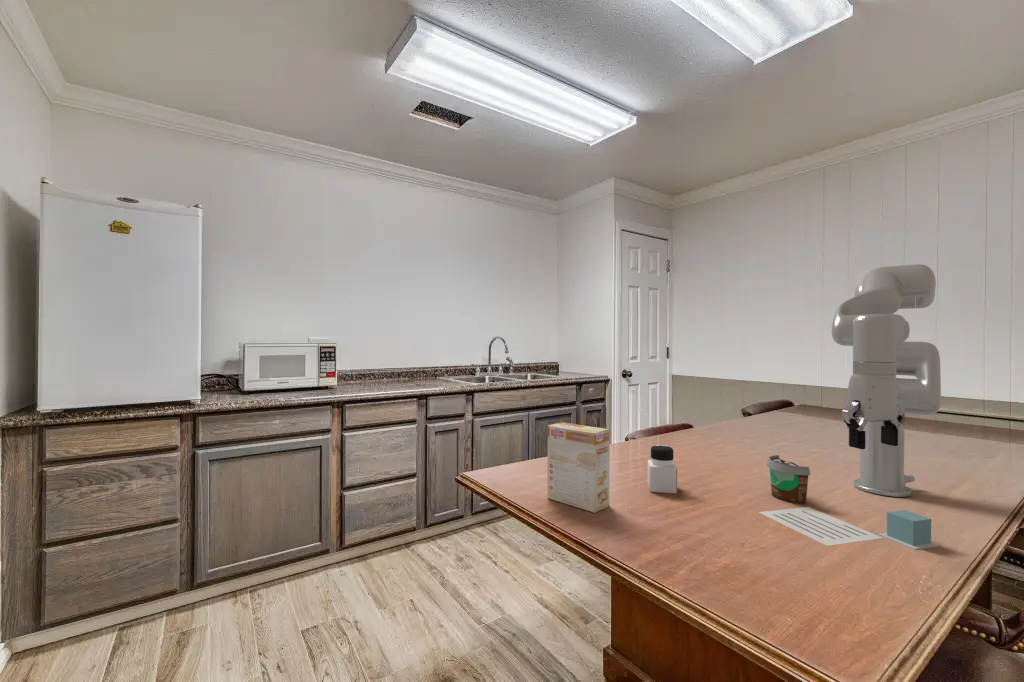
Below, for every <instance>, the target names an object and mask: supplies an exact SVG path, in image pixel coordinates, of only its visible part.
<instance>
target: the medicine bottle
mask: <svg viewBox="0 0 1024 682" xmlns="http://www.w3.org/2000/svg"><path fill="white" fill-rule="evenodd" d="M647 486H648V489H649V492H650V493H658V494H659V493H661V494H674V495H676V494H678V467H677V465H676V463H674V448H673V447H671V446H668V445H663V444H655V445H652V446H651V447H650V459H648V460H647Z"/></svg>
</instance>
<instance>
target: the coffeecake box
mask: <svg viewBox="0 0 1024 682" xmlns="http://www.w3.org/2000/svg"><path fill="white" fill-rule="evenodd" d="M610 435H611V433H610V429H609V428H604V427H598V426H597V427H595V426H589V425H583V424H577V423H569V422H556V423H554V424H552V423H551V424H548V425H547V480H546V481H547V482H546V483H547V486H546V487H547V495H546V496H547V499H549V500H552V501H555V502H559V503H562V504H566V505H569V506H571V507H575V508H578V509H581V510H584V511H588V512H591V513H594V514H596V513H597V512H600V511H601V510H603V509H606V508H608V507H610V453H611V452H610V448H611V447H610V443H611V441H610V438H611V437H610Z"/></svg>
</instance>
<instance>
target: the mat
mask: <svg viewBox="0 0 1024 682" xmlns="http://www.w3.org/2000/svg"><path fill="white" fill-rule="evenodd" d="M877 536H880V537H882V538H883V539H887V540H890V541H891V542H895V543H897V544H899V545H902V546H904V547H907V548H909V549H911V550H914V551H916V550H922V549H930V548H936V547H940V546H941V545H940V544H938V543H936V542H934V541H931V543H929V544H923V545H916V546H912V545H910V544H907V543H905V542H902V541H900V540H897V539H895V538H892V537H890V536H887V532H882V533H878V534H877Z"/></svg>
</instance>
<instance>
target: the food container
mask: <svg viewBox="0 0 1024 682" xmlns="http://www.w3.org/2000/svg"><path fill="white" fill-rule="evenodd" d="M766 467H768V468H769V476H770V477H769V478H770V488H771V489H770V491H771V496H772V497H773V498H775V499H777V500H779V501H783V502H787V503H792V504H800V505H801V504H802V505H805V504H807V497H808V496H807V495H808V485H809V484H808V483H809V476H811V469H810V467H809V466H802V465H801V466H799V465H797V464H796V463H794V462H791V461H787V460H784V459H781V458H780V455H779V454H775V455H771V456H768V459H767V462H766Z"/></svg>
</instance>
